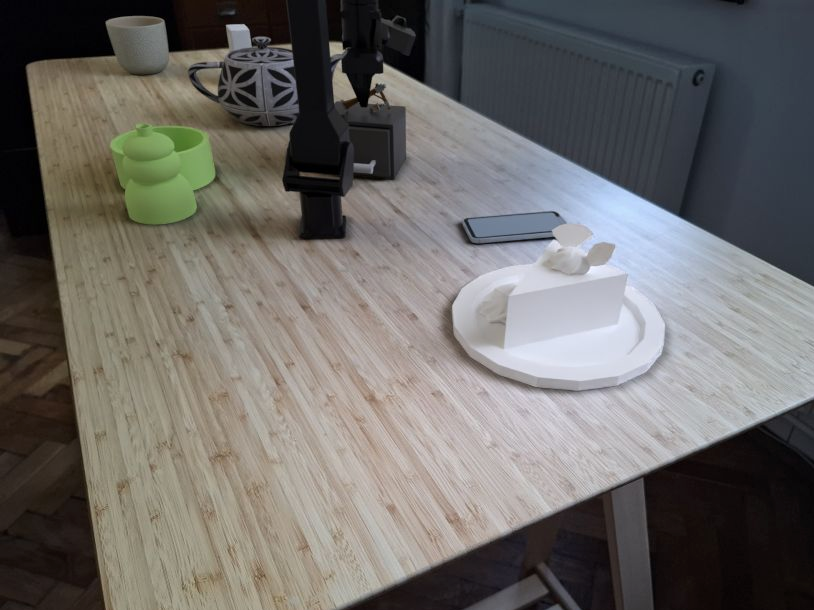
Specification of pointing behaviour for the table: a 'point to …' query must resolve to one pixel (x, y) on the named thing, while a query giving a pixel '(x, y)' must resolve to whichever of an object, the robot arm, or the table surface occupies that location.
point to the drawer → (371, 150)
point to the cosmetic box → (238, 36)
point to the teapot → (256, 84)
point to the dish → (560, 318)
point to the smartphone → (512, 226)
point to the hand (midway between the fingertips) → (364, 105)
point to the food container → (162, 171)
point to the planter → (139, 43)
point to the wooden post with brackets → (377, 89)
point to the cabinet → (384, 119)
